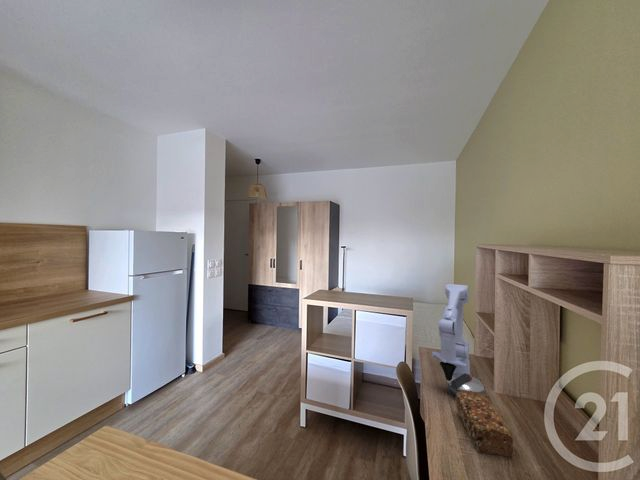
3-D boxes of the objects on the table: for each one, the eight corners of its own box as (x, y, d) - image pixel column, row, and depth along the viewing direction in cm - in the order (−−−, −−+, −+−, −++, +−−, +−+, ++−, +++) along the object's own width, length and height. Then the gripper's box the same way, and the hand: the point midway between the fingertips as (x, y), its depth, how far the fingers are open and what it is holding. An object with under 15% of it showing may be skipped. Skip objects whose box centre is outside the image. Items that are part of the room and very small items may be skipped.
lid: (456, 371, 115) (456, 365, 115) (489, 385, 103) (489, 378, 103) (437, 382, 106) (437, 375, 106) (472, 398, 95) (471, 390, 95)
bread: (455, 413, 93) (454, 386, 93) (486, 417, 91) (486, 389, 91) (476, 454, 75) (475, 421, 75) (515, 460, 73) (514, 425, 73)
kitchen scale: (443, 382, 114) (443, 373, 114) (477, 386, 110) (477, 377, 110) (453, 407, 96) (452, 396, 96) (493, 413, 92) (492, 402, 92)
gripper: (427, 344, 109) (427, 374, 109) (459, 356, 97) (460, 391, 97) (436, 340, 113) (437, 370, 113) (469, 352, 101) (470, 385, 100)
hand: (448, 379), depth 105 cm, fingers closed
